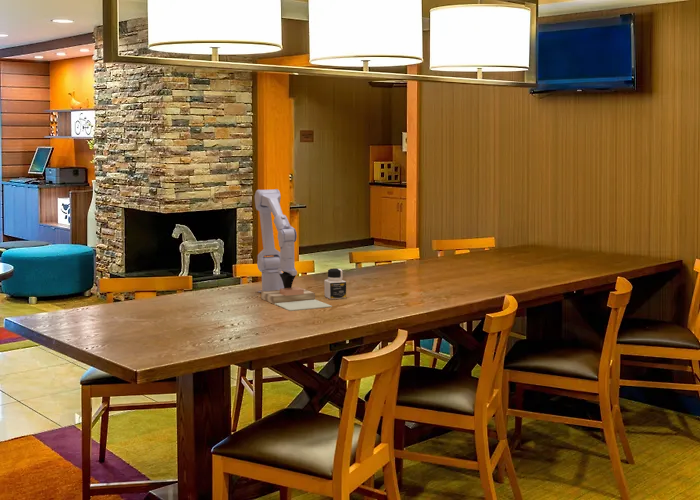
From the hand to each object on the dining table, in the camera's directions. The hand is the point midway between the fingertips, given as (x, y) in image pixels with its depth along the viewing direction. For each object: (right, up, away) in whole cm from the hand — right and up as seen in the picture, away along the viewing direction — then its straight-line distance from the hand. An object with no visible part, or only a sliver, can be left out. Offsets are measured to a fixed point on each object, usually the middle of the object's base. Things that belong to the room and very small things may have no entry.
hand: (287, 290), depth 371 cm
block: (+2, -1, -3) cm, 4 cm away
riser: (0, -4, +1) cm, 4 cm away
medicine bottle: (+19, -3, +5) cm, 20 cm away
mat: (+7, -5, -13) cm, 16 cm away
